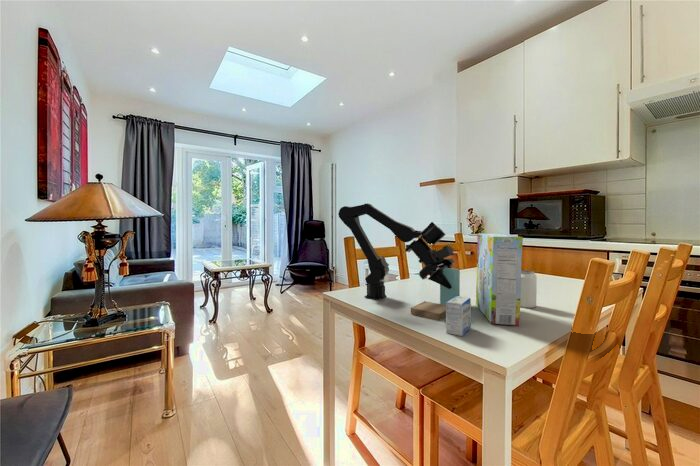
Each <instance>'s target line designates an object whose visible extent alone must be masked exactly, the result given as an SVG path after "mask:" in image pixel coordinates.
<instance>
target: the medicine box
mask: <svg viewBox="0 0 700 466" xmlns="http://www.w3.org/2000/svg"><path fill="white" fill-rule="evenodd" d="M471 302H472V301H471V298H470V297H466V296H455V297H454V298H452V299H451V300H449V301H448V302H446V317H445V326H446V327H445V329H446V331H445V332H446V333H447V334H450V335H454V336H455V335H456V336H460V337H463V336H464V335H465V334H466V333H467V332H468V331H469V330H470V329H471V326H472V324H471V323H472V322H471V321H472V318H471V317H472V315H471V314H472V313H471V312H472V311H471V305H472V303H471Z"/></svg>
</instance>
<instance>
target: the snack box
mask: <svg viewBox="0 0 700 466" xmlns="http://www.w3.org/2000/svg"><path fill="white" fill-rule="evenodd" d="M523 239H524V237H523V236H517V235H516V236H515V235H512V234H502V233H501V234H499V233H477V248H476V286H475V287H476V288H475V289H476V292H475V293H476V295H475V305H476V306H477V307H478V309H479V310H480V311H481V313H482V314H483V315H484V317H486V318H487V320H488V321H489V322H490V324H492V325H503V326H518V327H519V326H520V319H521V317H520V316H521V307H520V295H521V270H522V258H523V257H522V256H523V241H524V240H523Z"/></svg>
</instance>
